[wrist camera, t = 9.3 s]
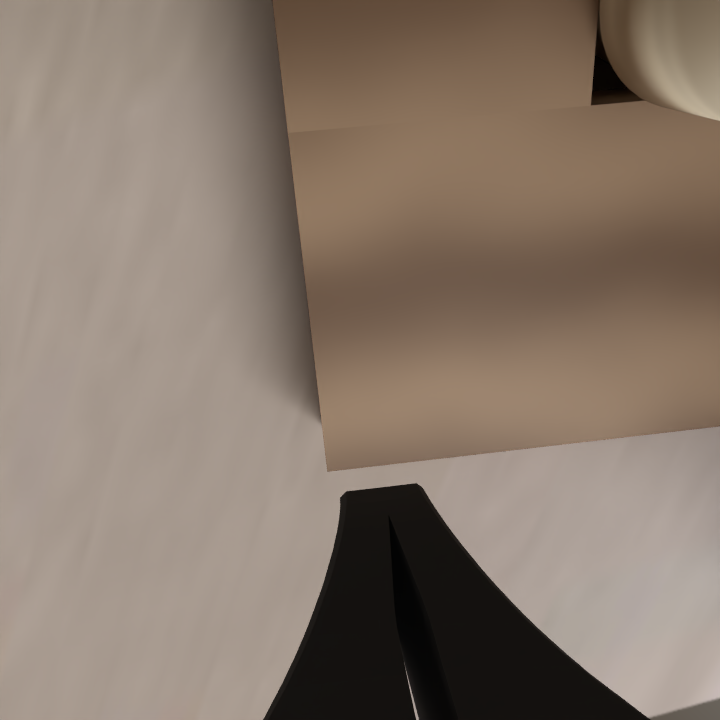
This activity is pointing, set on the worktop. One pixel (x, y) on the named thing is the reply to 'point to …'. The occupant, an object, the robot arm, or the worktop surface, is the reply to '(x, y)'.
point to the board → (494, 232)
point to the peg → (664, 51)
